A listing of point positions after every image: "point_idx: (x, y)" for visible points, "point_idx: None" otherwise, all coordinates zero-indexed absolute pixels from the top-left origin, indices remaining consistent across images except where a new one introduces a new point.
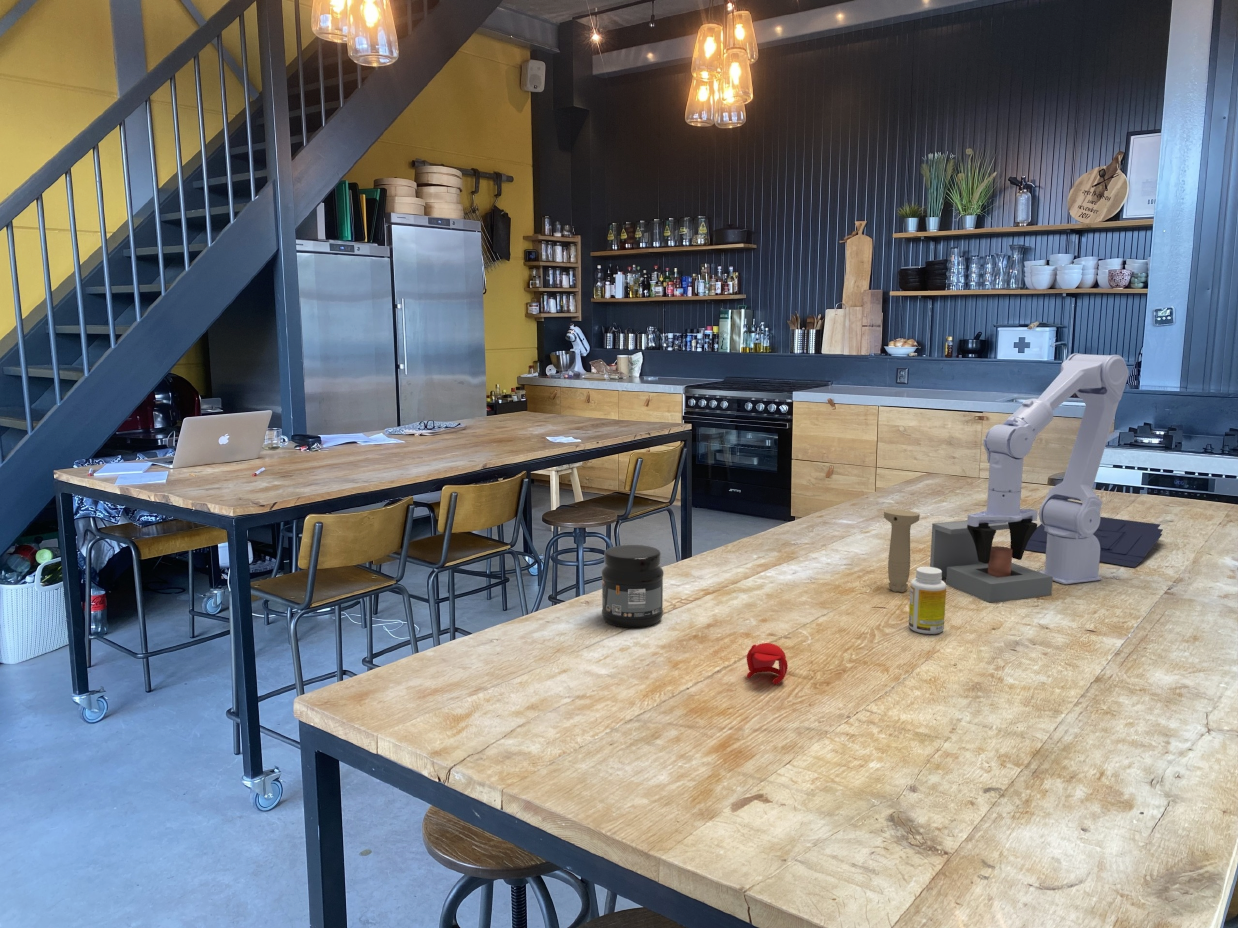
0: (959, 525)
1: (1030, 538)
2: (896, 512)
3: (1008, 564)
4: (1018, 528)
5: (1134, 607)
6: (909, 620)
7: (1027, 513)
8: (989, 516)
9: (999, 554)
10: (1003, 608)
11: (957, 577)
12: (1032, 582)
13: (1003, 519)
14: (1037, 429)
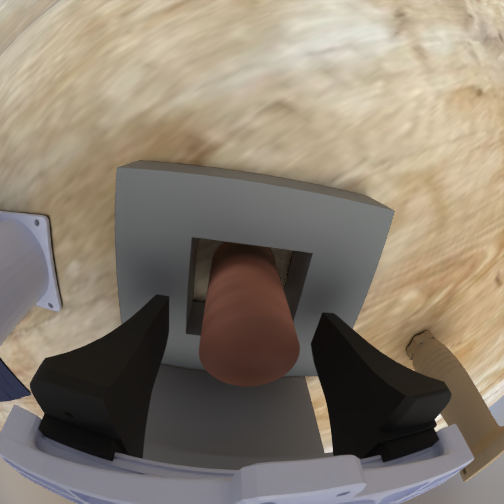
0: None
1: (4, 394)
2: (493, 460)
3: (250, 280)
4: (132, 418)
5: (62, 18)
6: None
7: (79, 487)
8: (435, 476)
9: (290, 323)
10: (377, 145)
11: None
12: (214, 174)
13: (377, 471)
14: None
